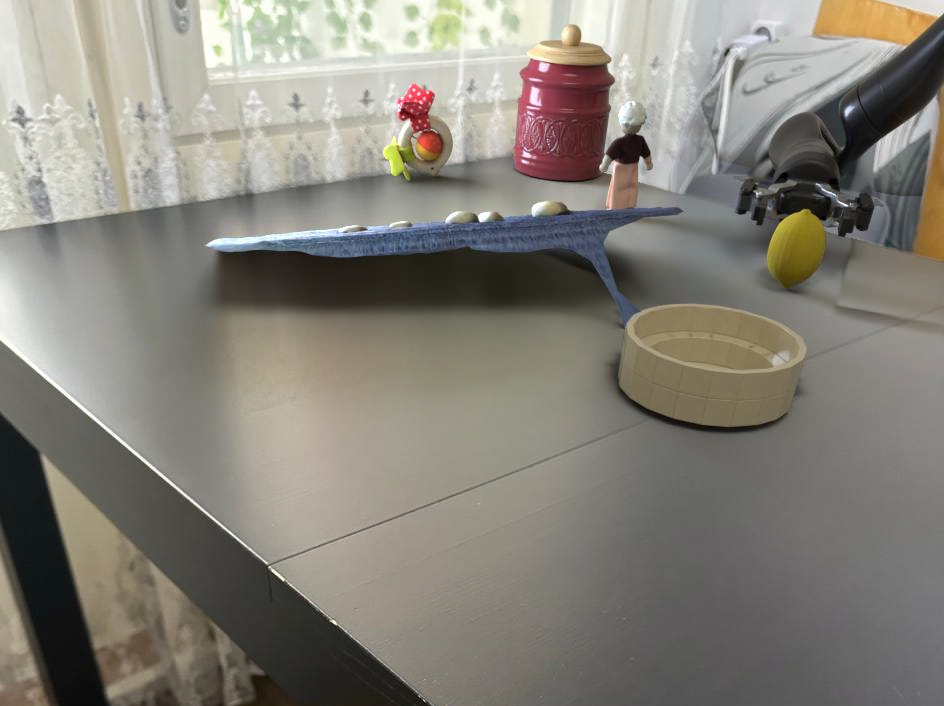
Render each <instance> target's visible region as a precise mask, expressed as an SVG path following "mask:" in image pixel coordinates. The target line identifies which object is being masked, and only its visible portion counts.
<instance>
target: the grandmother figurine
mask: <svg viewBox="0 0 944 706" xmlns="http://www.w3.org/2000/svg"><path fill="white" fill-rule="evenodd" d="M618 118H619V119H618V121H619V126H620V130H621V131H622V132H623V134H624V135H623V136H621V137H618V138H615V139H614V140H613V141H612V142H611V144H610V145H609V147H608V148H607V150H606V151H605V152H604V153H605V157H604V159H603V163H602V164H601V165H600V171H601V173H607V172H608V170H609V167H610V165H611V164H612V162H614V163H613V171H612V174H611V180H610V184H609V187H608V192H607V196H606V203H605V206H606V207H607V208H606V209H605V210H611V209H615V210H616V209H617V210H622V209H632V208H633V209H634V208H637V203H638V201H637V200H638V194H639V163H640V159H641V158H642V162H643V163H644V169H645V170H646V171H651V170H653V168H654V163H653V162H652V161H653V158H652V152H651V149H650V147H649V145H648V143H647V141H646V139H645V137H644V135H641V134H638V133H639V132H640V131H641V129H642V127H643V125H644V124H646V120H647V119H648V115H647V112H646V108H645V107H644V104H643V103H642V102H640V101H636V100H631V101H628V102H626V103H625V104H623V105H622V106H621V108H620V109H619V112H618Z"/></svg>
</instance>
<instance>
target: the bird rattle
mask: <svg viewBox="0 0 944 706" xmlns="http://www.w3.org/2000/svg"><path fill="white" fill-rule="evenodd" d="M435 98H436V93H434V91H432V90H429V89H422V88H421V87H420V86H419V85H417V84H416V83H414V82H413V83H412V84H410V86H409V87H408V89H407V91H406V93H405V95H404V96H401V97H398V98H397V100H396V106H397V108H398V111H397V119H398V120H400V121H402V122H405V121H406V122H405V123H404V125H403V126H402V128H401V131H400V133H399V136H398V142H397V136H396V135H394V136H393V138H392V142H391V144H388V145H386V147H384V149H383V156H384V158H385V159H386V160H388V161H389V164H390V172H391V175H392V176H393V177H399V176H400V175H401V174H402V173H403V175H404V177H405V178H406V180H407V181H410V180H411V175H410V173H409V171H408V168H407V166H408V167H409V168H410V169H412V170H414V171H416V172H418V173H422V174H429V175H430V176H432V177H437V176H438V175H439V171H440V170H441V169H442V168H443V167H445V165H446V164H447V162H448V160H449V159H450V157H451V155H452V153H453V148H454V147H453V146H454V142H453V134H452V131H451V130H450V129H451V128H449V126H448V124H447V123H446V122H445V121H444V120H443V119H442V118H440V117H439V116H437V115H434V114H433V113H432V114H431V113H430V111H431V108H432V106H433V103H434V101H435ZM419 132H420V133H419ZM417 133H419V134H418V136H417V137H416V136H414V135H415V134H417ZM412 139H415V145H414V147H415V151H416V152H415V151H414V148H413V143H412ZM415 153H417V155H418V156H419V157H418V156H416V154H415ZM406 165H407V166H406Z"/></svg>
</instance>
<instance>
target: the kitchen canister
mask: <svg viewBox="0 0 944 706" xmlns="http://www.w3.org/2000/svg"><path fill="white" fill-rule="evenodd" d="M582 36H583V35H582V30H581V28H580V26H578V25H577V24H574V23H573V24H572V23H571V24H567V25H565V26H564V28H563V30H562V32H561V39H559V40H557V39H553V40H552V39H550V40H542V41H538V43H537V45H535V46H534V47H532V48H530V49H529V50H527V52H526V55H527V57H528V58H530V59H529V61H528V63H527V65H526V66H525V67H523V68H521V69H520V71H519V74H518V75H519V77H520V79H521V81H522V86H521V91H520V96H519V97H518V98H517V100H516V103H517V113H516V114H517V115H516V128H515V140H514V141H515V142H514V146H513V148H512V149H513V153H512V159H513V167H514V169H515V170H516V171H518V172H520V173H522V174H524V175H526V176H531V177H535V178H539V179H544V180H551V181H571V182H573V181H584V180H585V181H586V180H591V179H595V178H597V177H599V176H600V175H601V173H602V172H601V171H600V165H601V164H602V163H603V159H604V157H605V153H606V152H605V149H606V144H607V143H606V141H607V136H608V135H607V134H608V127H609V119H610V112H611V111H612V105H611V103H610V91H611V88H612V86H613V85H614V84H615V82H616V78H615V77H614V75H613V74H611V72H610V71H609V67H608V64H610V63H611V62H612V57H611V56H610V55H609V54H608V53H607V52H606V51H605V50H604V48H603V47H602V46H601V45H598V44H595V43H591V42H585V41H582Z"/></svg>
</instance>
